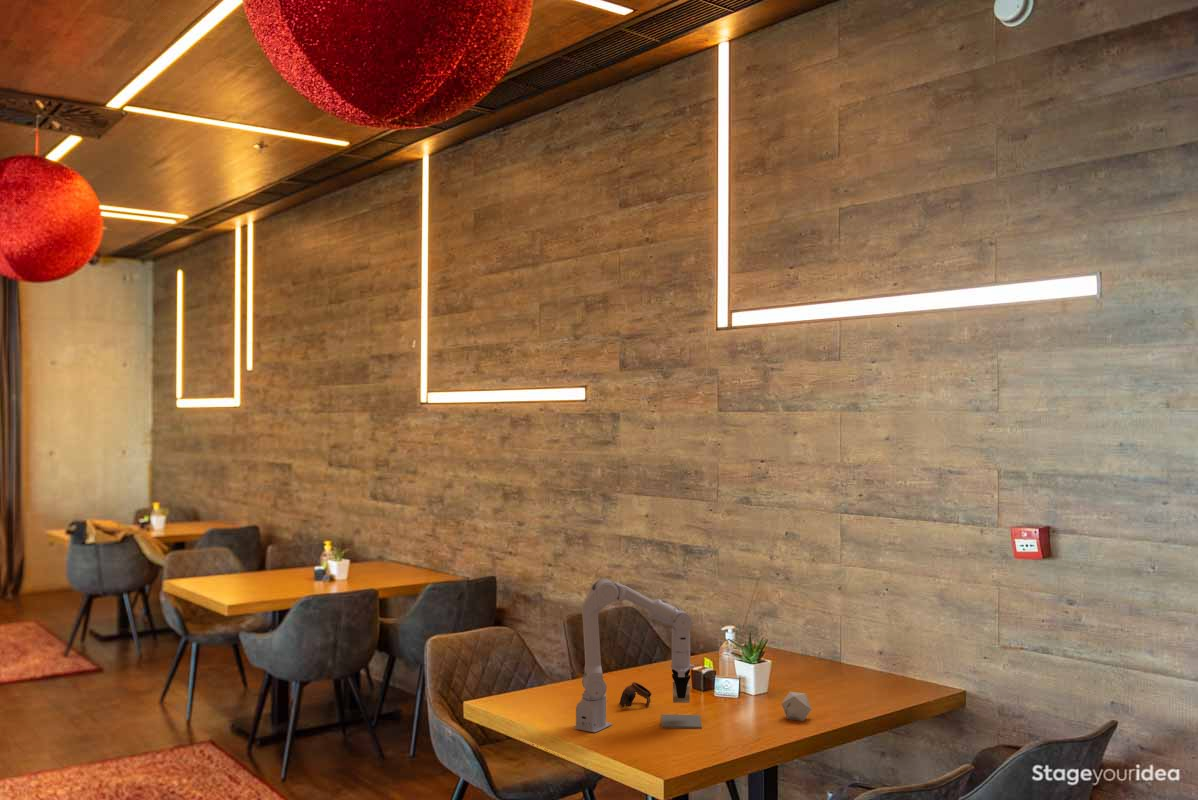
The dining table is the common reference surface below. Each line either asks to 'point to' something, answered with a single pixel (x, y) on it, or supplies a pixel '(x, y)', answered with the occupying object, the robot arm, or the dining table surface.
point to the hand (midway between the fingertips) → (681, 695)
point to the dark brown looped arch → (634, 694)
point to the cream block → (681, 700)
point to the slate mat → (681, 721)
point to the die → (796, 706)
